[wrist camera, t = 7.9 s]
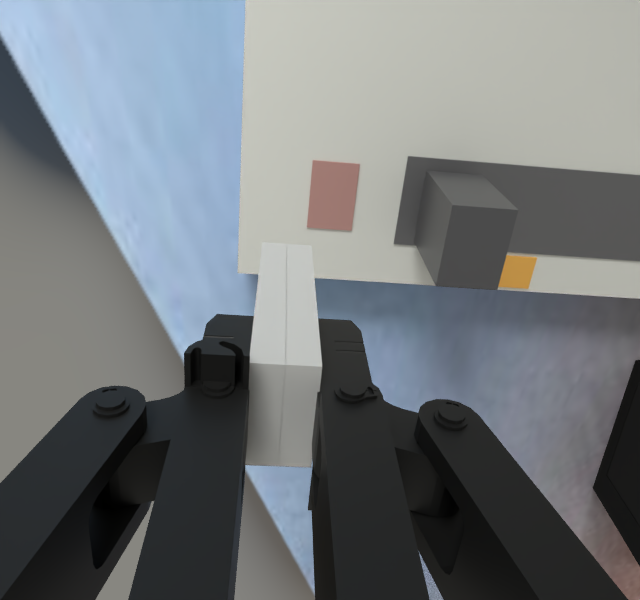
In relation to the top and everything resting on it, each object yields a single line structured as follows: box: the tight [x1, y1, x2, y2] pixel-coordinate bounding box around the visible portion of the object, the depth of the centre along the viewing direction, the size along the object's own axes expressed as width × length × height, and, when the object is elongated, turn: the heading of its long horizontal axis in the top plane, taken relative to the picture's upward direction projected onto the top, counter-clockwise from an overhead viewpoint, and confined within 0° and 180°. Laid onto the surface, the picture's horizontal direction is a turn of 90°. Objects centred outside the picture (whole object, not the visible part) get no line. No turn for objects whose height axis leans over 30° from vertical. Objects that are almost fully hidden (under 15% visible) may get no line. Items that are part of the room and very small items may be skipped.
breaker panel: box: [238, 0, 640, 299], centre depth 24 cm, size 20×26×3 cm
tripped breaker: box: [414, 171, 518, 290], centre depth 23 cm, size 3×2×4 cm
